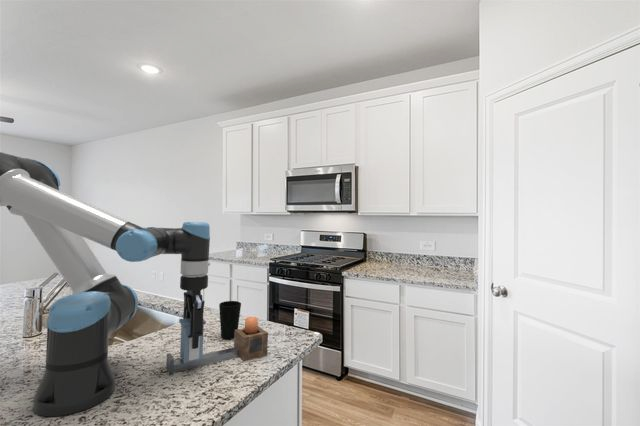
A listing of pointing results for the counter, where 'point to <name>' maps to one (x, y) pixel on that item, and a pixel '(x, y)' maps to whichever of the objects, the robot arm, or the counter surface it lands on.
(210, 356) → the rail
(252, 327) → the button
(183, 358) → the carriage
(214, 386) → the counter surface
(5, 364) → the counter surface
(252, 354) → the brown wooden box
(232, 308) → the cup
